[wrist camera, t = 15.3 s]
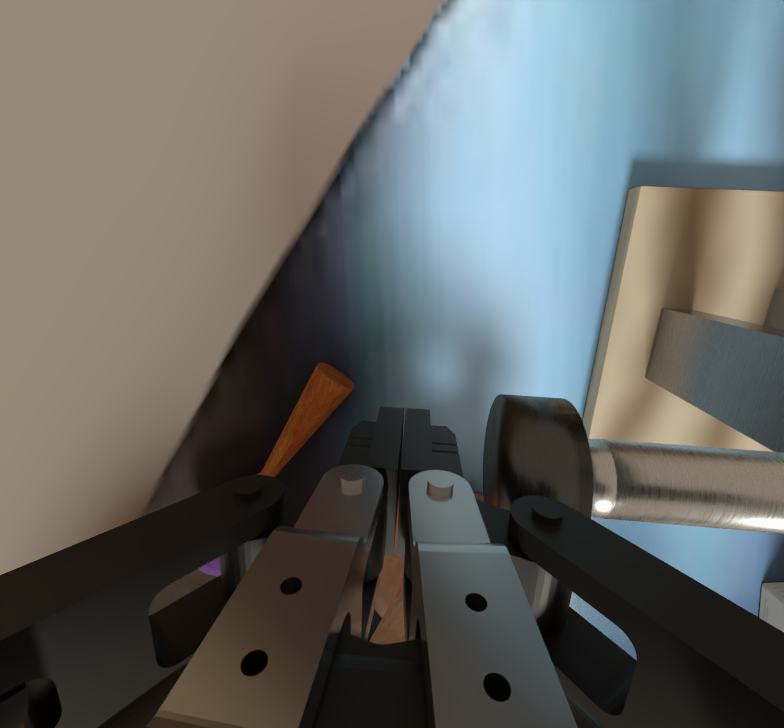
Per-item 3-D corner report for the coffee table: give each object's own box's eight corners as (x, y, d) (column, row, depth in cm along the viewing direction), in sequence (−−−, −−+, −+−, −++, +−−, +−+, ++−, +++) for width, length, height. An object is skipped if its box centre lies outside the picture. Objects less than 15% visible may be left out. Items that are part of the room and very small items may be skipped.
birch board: (579, 435, 31) (587, 444, 30) (629, 189, 26) (641, 186, 25) (846, 454, 30) (867, 465, 29) (951, 202, 25) (984, 199, 24)
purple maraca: (372, 411, 28) (231, 603, 32) (366, 381, 34) (247, 547, 37) (298, 368, 26) (159, 576, 30) (305, 343, 32) (187, 522, 36)
